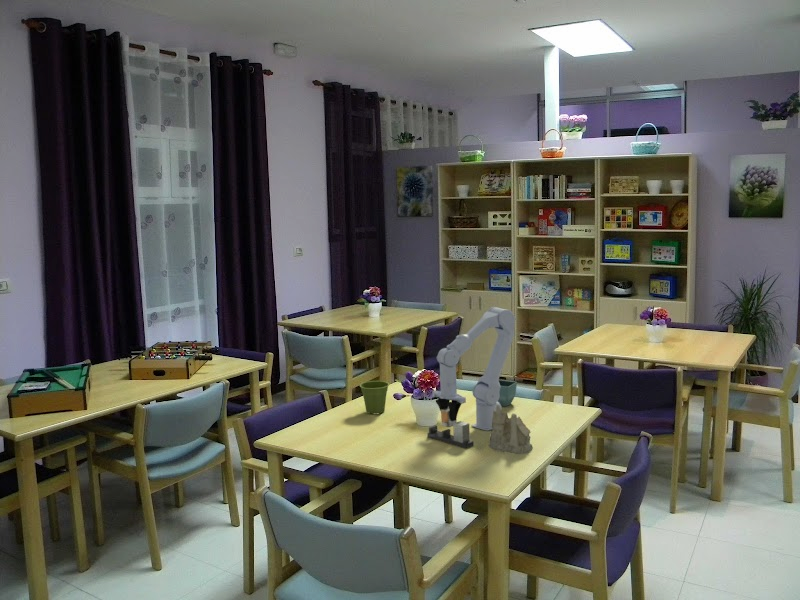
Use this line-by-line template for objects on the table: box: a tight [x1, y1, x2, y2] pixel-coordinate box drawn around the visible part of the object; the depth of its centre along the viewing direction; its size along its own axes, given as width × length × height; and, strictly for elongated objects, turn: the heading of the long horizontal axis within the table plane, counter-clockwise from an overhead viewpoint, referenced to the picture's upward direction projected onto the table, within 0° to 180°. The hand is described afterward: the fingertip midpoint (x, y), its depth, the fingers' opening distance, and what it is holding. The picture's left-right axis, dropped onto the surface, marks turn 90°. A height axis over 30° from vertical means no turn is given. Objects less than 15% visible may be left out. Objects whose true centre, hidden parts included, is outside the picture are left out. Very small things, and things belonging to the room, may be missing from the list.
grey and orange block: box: [440, 407, 458, 428], centre depth 256 cm, size 4×4×6 cm
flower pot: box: [498, 379, 518, 407], centre depth 291 cm, size 9×9×9 cm
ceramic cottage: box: [488, 405, 534, 455], centre depth 242 cm, size 16×16×15 cm
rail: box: [427, 420, 474, 449], centre depth 247 cm, size 18×4×8 cm, turn 43°
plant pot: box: [358, 380, 390, 414], centre depth 285 cm, size 12×12×11 cm
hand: (449, 419), depth 256 cm, fingers closed on grey and orange block, 3 cm apart
